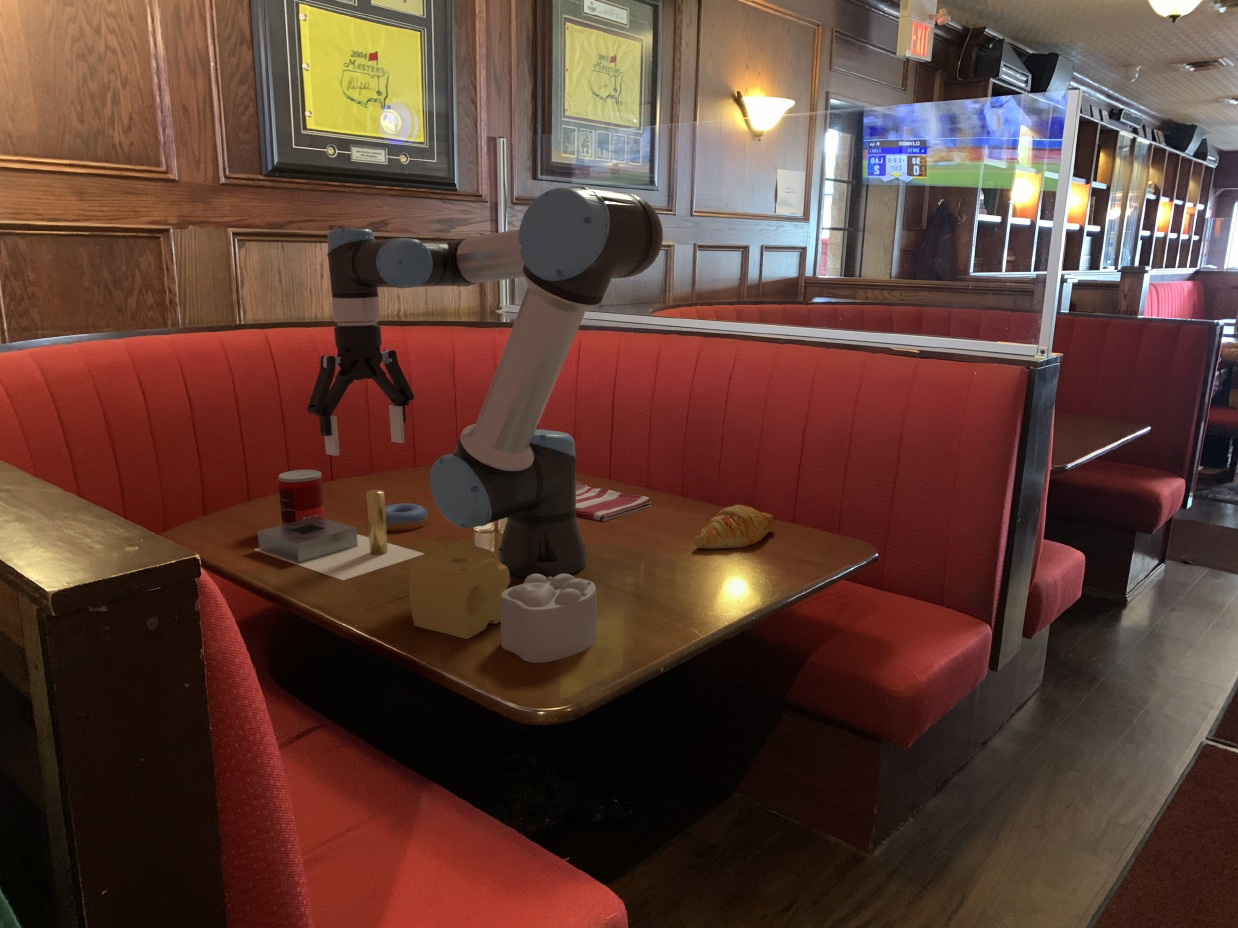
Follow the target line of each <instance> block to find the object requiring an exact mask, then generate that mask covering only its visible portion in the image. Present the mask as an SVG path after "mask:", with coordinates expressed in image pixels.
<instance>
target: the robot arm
mask: <svg viewBox="0 0 1238 928" xmlns="http://www.w3.org/2000/svg"><path fill="white" fill-rule="evenodd" d="M663 240H664V229H663V225H662V221H661V218H660V217H659V215H658V213H657V212H656V210H655V208H654V207H653V206H652V205H651V204H650V203H649V202H648V201H646V200H645V199H644V198H642V197H640V196H638V195H636V194H633V193H630V192H629V193H627V192H617V191H608V190H600V189H592V188H588V187H586V186H580V185H579V186H567V187H556V188H552V189H549V190H547V191H545V192H543V193H541V194H540V195H538V196H537V197H536V198H535V199H534V200H532V202H531V203H530V205H528V207H527V209H526V210H525V212H524V213H523V216H522V218H521V221H520V225H519V228H518V229H514V230H513V229H512V230H508V231H507V230H506V231H501V232H496V233H489V234H482V235H477V236H471V237H470V236H469V237H465V238H459V239H458V238H457V239H453V240H452V239H451V240H429V239H428V240H425V239H424V240H423V239H421V240H420V239H416V238H408V237H393V238H388V239H387V238H386V239H377V240H376V239H375V234H374V232H373V230H371V229H369V228H334V229H331V230H329V232H328V234H327V254H326V256H327V259H328V260H327V261H328V268H329V269H328V271H329V279H330V280H329V281H330V292H331V303H332V316H333V317H332V319H333V322H335V323H337V325H335V327H334V328H333V329H334V330H333V332H334V342H335V347H336V349H337V355H336V356H335V355H329V354H327V355H326V354H323V355H321V356H320V361H319V362H320V368H319V372H318V375H317V378H316V381H315V385H314V388H313V390H312V393H311V395H310V399H309V402H308V405H307V407H306V411H307V413H308V414H312V415H316V416H318V419H319V430H320V435H321V436H323V437H324V445H325V446H324V448H325V455H330V456H335V457H336V456H340V454H341V453H340V443H339V430H338V421H337V420H338V418H337V416H336V415H333V414H334V411H335V410H336V409H337V407H338V405H339V403H340V401H341V399H342V397H344V394H345V393H346V391H347V390H348V388H349V386H350V385H351V384H352V383H353V382H354V381H362V380H364V379H365V380H370V379H371V380H373V382H374V383H375V384H376V385H377V386H378V387H379V388H380V390H381V391H382V392H383V393H384V395H385V396H386V397H387V398H388V400H390V402H391V403H392V405H391V404H390V405H388V408H389V409H388V410H389V423H390V424H389V425H390V439H391V443H392V442H393V443H397V444H404V443H405V428H404V424H405V423H406V420H407V417H406V416H407V415H406V413H407V412H406V406H407V407H408V406H409V405H410V401H414V399H415V395H414V393H413V391H412V388H411V387H410V384H409V382H408V381H407V378H406V376H405V374H404V372H403V370H402V368H401V366H400V364H399V361H398V355H397V352H396V350H395V349H393V350H392V349H383V350H382V351H381V346H382V344H383V343H382V330H381V329H382V328H381V326H380V325H379V324H378V322H379V321H381V312H380V300H379V292H378V289H379V288H396V289H411V288H420V287H421V288H422V287H423V288H424V287H425V288H427V287H469V286H474V285H478V284H479V283H487V282H489V283H490V282H495V281H503V280H513V279H521V278H522V279H523V278H524V279H525V281H526V283H527V288H526V290H525V293H524V296H523V298H522V301H521V304H520V307H519V309H518V312H517V315H516V317H515V319H514V323H513V325H512V327H511V330H510V332H509V335H508V339H507V340H506V343H505V346H504V348H503V351H502V354H501V357H500V360H499V362H498V365H497V367H496V370H495V373H494V374H493V375H494V376H493V378H492V381H491V383H490V385H489V388H488V391H487V394H486V396H485V400H484V402H483V404H482V407H481V409H480V412H479V414H478V418H477V420H476V423H475V424H474V423H473V424H471V425H467V426H466V427H465V428H463V430H462V432H461V434H460V436H459V438H458V441H457V444H456V447H455V449H454V451H453V452H452V453H447V454H443V455H442V456H441V457H439V458H437V460H435V462H434V463H433V465H432V466H431V469H430V474H429V486H430V492H431V495H432V497H433V501H434V503H435V505H436V507H437V509H438V510H439V513H440V514H441V515H442V516H443V517H444V518H445V519H446V520H447V521H448V522H449V523H451V524H452V525H454V526H456V527H458V528H461V529H472V528H473V529H474V528H477V527H484V526H487V525H488V524H492V523H495V522H498V521H500V520H503V519H506V523H505V527H504V530H503V534H502V537H501V542H500V545H499V547H498V550H497V558H498V559H499V561H500V562H501V563H502V564H503V565H505V566H507V568H508V570H509V574H510V575H514V576H518V577H523V578H524V577H526V578H527V577H528V576H530V575H532V574H541V575H543V576H545V577H546V578H548V577H552V578H554V577H555V576H557V575H559V574H569V575H571V574H573V573H575V572H578V571H579V570H582V569H583V568H585V567H586V565H587V562H588V561H587V560H588V559H587V556H588V555H587V548H586V546H585V544H584V542H583V538H582V534H581V532H580V528H579V525H578V520H577V516H576V481H577V479H576V478H577V473H576V472H577V466H576V464H577V461H576V460H577V459H578V458H577V455H576V442H575V439H574V438H573V437H572V435H570V434H569V433H566V432H563V431H557V430H547V429H537V427H538V425H539V423H540V421H541V419H542V416H543V413H544V412H545V409H546V407H547V404H548V402H549V399H550V397H551V395H552V392H553V391H554V388H555V385H556V383H557V380H558V378H559V376H560V373H561V371H562V368H563V366H564V363H565V361H566V358H567V356H568V354H569V352H570V350H571V346H572V344H573V342H574V340H575V338H576V336H577V333H578V331H579V328H580V326H581V323H582V321H583V318H584V316H585V314H586V311H587V310H590V309H592V308H596V307H598V306H600V305H601V304H602V302H603V299H604V296H605V294H606V292H607V291H608V288H609V286H610V283H611V280H612V279H625V278H626V279H627V278H631V277H635V276H637V275H640V274H641V273H644V272H645V271H646V270H648V269H649V268H650V267H651V266H652V265H653V264H654V263H655V261H656V259H657V258H658V256H659V255H660V252H661V251H662V250H661V249H662V245H663ZM381 363H383V365H384V367H385V370H386V372H387V373H388V376H389V377H388V376H387V373H386V372H385V371H384V369H383V368H382V367H381ZM338 367H339V370H338V372H337V374H336V375H335V373H336V369H337V368H338ZM334 379H335V380H334ZM333 380H334V382H333ZM332 382H333V383H332Z"/></svg>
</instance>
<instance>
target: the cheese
mask: <svg viewBox="0 0 1238 928" xmlns="http://www.w3.org/2000/svg"><path fill="white" fill-rule="evenodd" d="M408 579H409V582H408V584H409V587H408V588H409V602H410V610H411V611H410V612H411V615H412V621H413V626H415V627H417V628H418V627H419V628H421V629H425V630H430V631H433V632H438V633H442V634H446V635H449V636H453V637H456V638H460V639H462V640H463V639H464V640H469V639H470V638H472V637H475V636H476V635H478V634H479V633H481V632H483V631H484V630H486V627H487V626H488V624H494V625H495V624H498V623H501V613H500V596H501V593H502V592H503V591H504V590H506V589H508V586H509V584H510V583H511V574H510V573H509V570H508V568H507V566H505V565H503V564H502V563H501V562H500V561H499V559H498V555H496V552H493V551H492V550H489V549H487V548H484V547H480V546H478V545H474V544H471V543H467V542H464V541H463V542H462V541H454V542H452V543H449V544H448V545H446V546H445V547H442V548H440V549H438V550H436V551H434V552H432V553H429V554H427V555H424V556H422V557H421V556H420V557H419V558H416V559H413V560H411V562H410V569H409V578H408Z"/></svg>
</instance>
